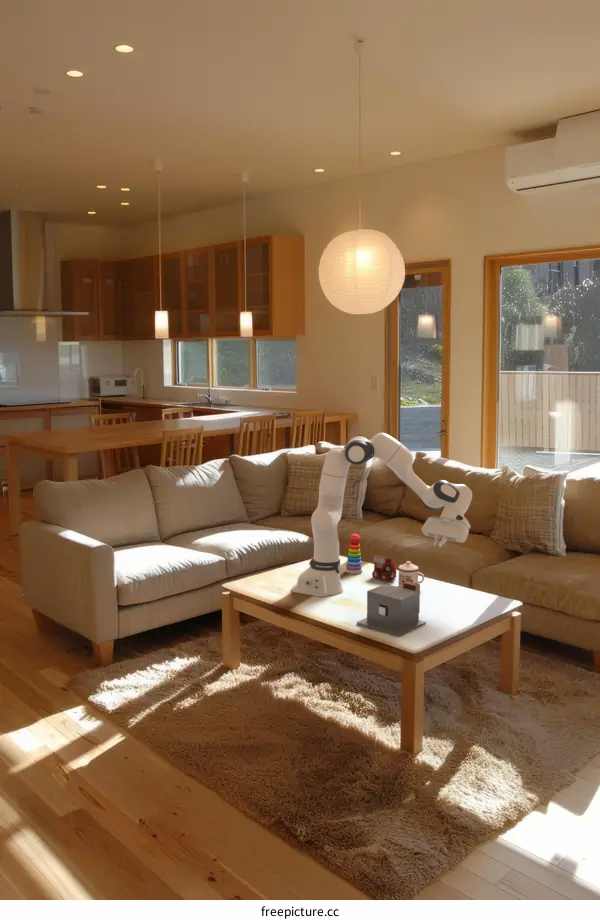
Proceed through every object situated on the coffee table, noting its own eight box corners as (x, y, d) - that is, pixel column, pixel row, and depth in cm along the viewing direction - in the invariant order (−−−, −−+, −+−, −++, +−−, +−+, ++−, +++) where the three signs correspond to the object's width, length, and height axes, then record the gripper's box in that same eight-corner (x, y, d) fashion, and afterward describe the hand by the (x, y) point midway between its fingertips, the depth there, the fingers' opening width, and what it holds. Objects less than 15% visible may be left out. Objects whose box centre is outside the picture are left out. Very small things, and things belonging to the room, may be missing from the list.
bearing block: (384, 613, 330) (384, 581, 328) (425, 624, 317) (426, 592, 315) (356, 624, 317) (356, 592, 315) (398, 637, 304) (399, 603, 302)
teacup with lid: (394, 588, 362) (395, 562, 361) (402, 582, 370) (402, 557, 368) (420, 592, 357) (420, 566, 355) (427, 586, 364) (427, 561, 363)
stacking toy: (352, 575, 381) (353, 536, 378) (342, 571, 387) (342, 533, 384) (365, 572, 386) (365, 534, 383) (354, 569, 392) (355, 531, 389)
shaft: (406, 609, 330) (407, 581, 328) (419, 613, 326) (420, 584, 324) (375, 623, 315) (375, 593, 313) (388, 627, 310) (388, 596, 309)
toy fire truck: (390, 583, 369) (390, 561, 368) (369, 577, 378) (369, 556, 376) (399, 580, 374) (400, 558, 373) (378, 574, 383) (379, 553, 381)
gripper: (427, 511, 347) (413, 537, 341) (468, 518, 333) (455, 546, 327) (432, 519, 351) (419, 545, 345) (474, 527, 337) (460, 554, 331)
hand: (437, 546), depth 336 cm, fingers closed
